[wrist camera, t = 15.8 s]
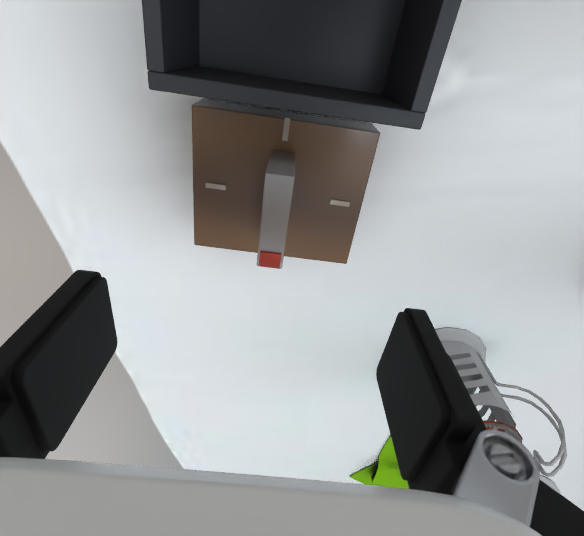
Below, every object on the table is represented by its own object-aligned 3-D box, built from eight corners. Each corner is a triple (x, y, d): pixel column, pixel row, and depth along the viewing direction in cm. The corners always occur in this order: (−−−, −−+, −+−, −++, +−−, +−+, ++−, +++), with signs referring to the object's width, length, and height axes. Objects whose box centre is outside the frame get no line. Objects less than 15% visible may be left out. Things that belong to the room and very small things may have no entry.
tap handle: (271, 149, 23) (264, 174, 18) (295, 153, 23) (294, 178, 19) (263, 230, 26) (256, 268, 22) (284, 233, 26) (281, 271, 22)
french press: (380, 344, 36) (495, 757, 15) (497, 309, 34) (834, 754, 12) (405, 399, 41) (518, 772, 20) (509, 372, 38) (768, 772, 17)
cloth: (410, 512, 56) (415, 530, 54) (320, 458, 48) (321, 476, 46) (534, 467, 48) (545, 485, 46) (452, 393, 40) (460, 411, 38)
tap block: (202, 97, 24) (190, 103, 21) (372, 122, 25) (381, 131, 22) (203, 229, 29) (193, 247, 27) (342, 246, 30) (346, 266, 27)
